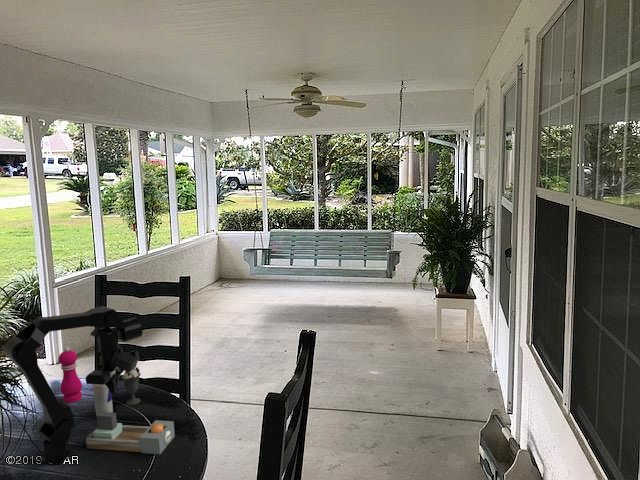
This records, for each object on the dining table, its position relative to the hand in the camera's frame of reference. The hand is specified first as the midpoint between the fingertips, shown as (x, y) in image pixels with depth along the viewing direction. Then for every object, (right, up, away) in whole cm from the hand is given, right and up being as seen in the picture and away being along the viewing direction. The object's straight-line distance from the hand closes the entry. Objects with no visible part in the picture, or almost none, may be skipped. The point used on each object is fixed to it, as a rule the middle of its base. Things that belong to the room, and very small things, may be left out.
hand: (113, 393), depth 166 cm
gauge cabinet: (+16, -14, -6) cm, 22 cm away
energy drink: (-8, -12, +13) cm, 19 cm away
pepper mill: (-25, -10, +26) cm, 37 cm away
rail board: (+4, -14, -4) cm, 15 cm away
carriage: (0, -12, -4) cm, 13 cm away
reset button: (+16, -12, -7) cm, 21 cm away
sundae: (-1, -10, +22) cm, 24 cm away
